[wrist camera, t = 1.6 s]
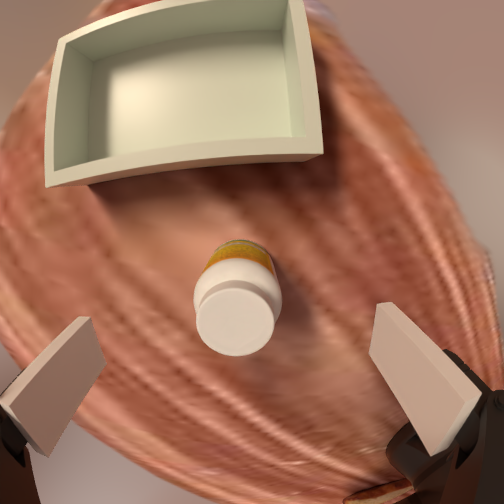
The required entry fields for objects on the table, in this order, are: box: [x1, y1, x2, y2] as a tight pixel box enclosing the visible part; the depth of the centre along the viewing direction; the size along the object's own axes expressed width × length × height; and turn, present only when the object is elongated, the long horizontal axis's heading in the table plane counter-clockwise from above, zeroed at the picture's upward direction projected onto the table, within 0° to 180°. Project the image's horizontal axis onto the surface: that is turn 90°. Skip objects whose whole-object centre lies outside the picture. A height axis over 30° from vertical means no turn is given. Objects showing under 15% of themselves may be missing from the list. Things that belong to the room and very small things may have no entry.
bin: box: [45, 0, 323, 188], centre depth 16 cm, size 13×19×6 cm
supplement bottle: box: [194, 239, 282, 356], centre depth 18 cm, size 5×5×10 cm
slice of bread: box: [343, 478, 413, 504], centre depth 34 cm, size 18×18×4 cm
